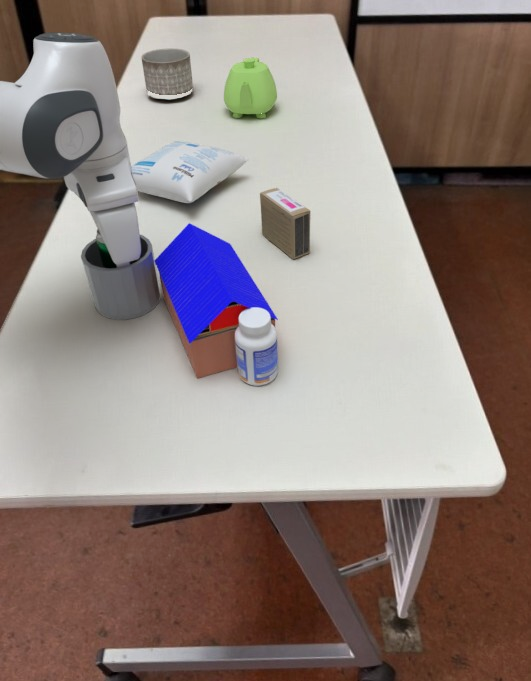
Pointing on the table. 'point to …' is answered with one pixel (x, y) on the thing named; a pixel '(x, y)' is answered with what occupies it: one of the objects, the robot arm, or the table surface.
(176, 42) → the table surface
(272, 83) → the teapot
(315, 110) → the table surface
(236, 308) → the house
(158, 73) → the planter
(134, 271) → the steel cup
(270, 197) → the ink box
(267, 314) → the pill bottle
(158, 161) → the pouch
